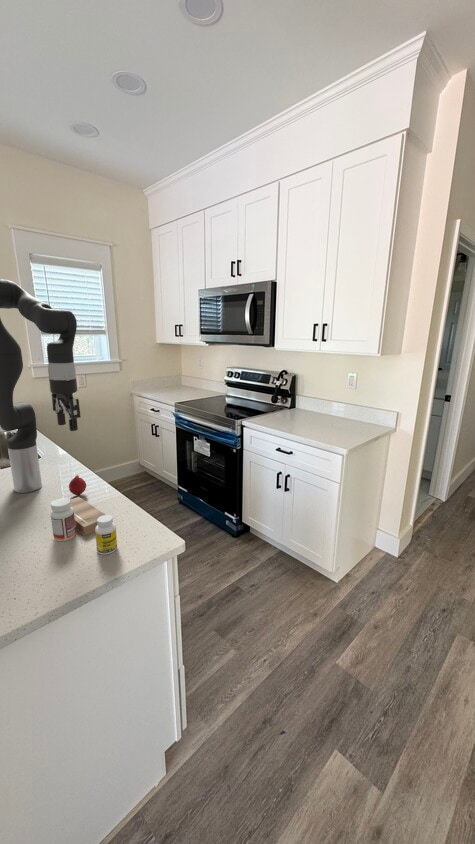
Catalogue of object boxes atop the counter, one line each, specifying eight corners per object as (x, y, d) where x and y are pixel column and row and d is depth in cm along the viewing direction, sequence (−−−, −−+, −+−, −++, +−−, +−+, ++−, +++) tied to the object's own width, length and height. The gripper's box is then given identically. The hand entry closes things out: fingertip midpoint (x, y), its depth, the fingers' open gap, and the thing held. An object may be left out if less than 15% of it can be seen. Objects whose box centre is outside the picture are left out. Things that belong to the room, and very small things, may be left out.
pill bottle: (76, 528, 109) (72, 495, 106) (76, 539, 104) (72, 504, 101) (53, 533, 106) (49, 499, 103) (53, 544, 101) (48, 508, 98)
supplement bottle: (102, 558, 95) (99, 526, 93) (93, 549, 99) (90, 518, 96) (121, 549, 99) (118, 518, 97) (111, 541, 103) (109, 511, 100)
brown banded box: (56, 513, 118) (55, 504, 117) (79, 504, 124) (78, 496, 123) (85, 535, 105) (84, 526, 104) (109, 525, 111) (108, 516, 110)
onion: (80, 499, 127) (78, 479, 125) (66, 498, 128) (64, 477, 126) (90, 492, 132) (88, 473, 130) (76, 491, 134) (74, 471, 131)
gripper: (40, 375, 110) (46, 425, 114) (60, 381, 101) (65, 435, 105) (65, 373, 115) (69, 421, 119) (85, 378, 106) (89, 430, 110)
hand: (67, 427), depth 112 cm, fingers open, 8 cm apart
